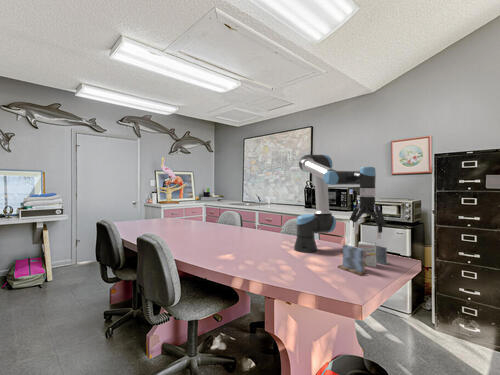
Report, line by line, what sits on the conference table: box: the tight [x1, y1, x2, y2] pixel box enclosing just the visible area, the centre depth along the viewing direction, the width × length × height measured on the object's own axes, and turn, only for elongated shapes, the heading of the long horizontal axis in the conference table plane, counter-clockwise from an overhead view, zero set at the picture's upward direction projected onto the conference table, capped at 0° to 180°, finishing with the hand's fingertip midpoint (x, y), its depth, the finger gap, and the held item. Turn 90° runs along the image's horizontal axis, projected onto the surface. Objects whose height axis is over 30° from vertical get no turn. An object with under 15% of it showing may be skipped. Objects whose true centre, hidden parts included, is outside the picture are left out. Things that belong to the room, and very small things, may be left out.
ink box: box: [357, 241, 377, 268], centre depth 138 cm, size 9×5×12 cm, turn 62°
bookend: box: [376, 245, 391, 266], centre depth 143 cm, size 10×4×9 cm, turn 29°
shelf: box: [337, 244, 368, 277], centre depth 138 cm, size 14×27×12 cm, turn 119°
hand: (366, 236), depth 138 cm, fingers open, 13 cm apart
